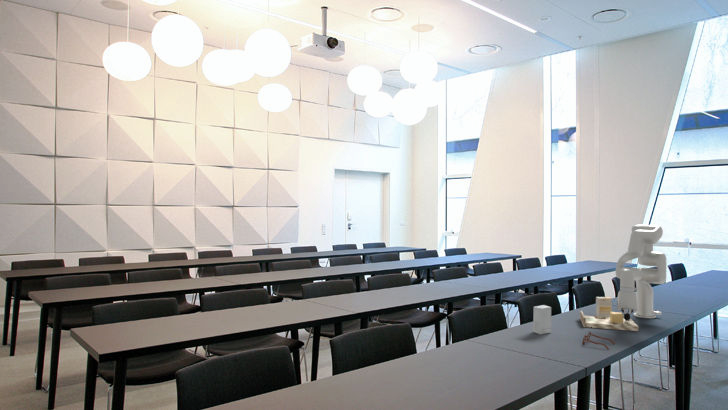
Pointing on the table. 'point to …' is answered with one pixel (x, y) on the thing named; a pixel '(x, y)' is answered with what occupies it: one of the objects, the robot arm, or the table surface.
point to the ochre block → (616, 317)
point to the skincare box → (542, 319)
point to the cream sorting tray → (607, 323)
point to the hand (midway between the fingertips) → (626, 320)
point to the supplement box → (603, 306)
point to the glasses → (594, 342)
